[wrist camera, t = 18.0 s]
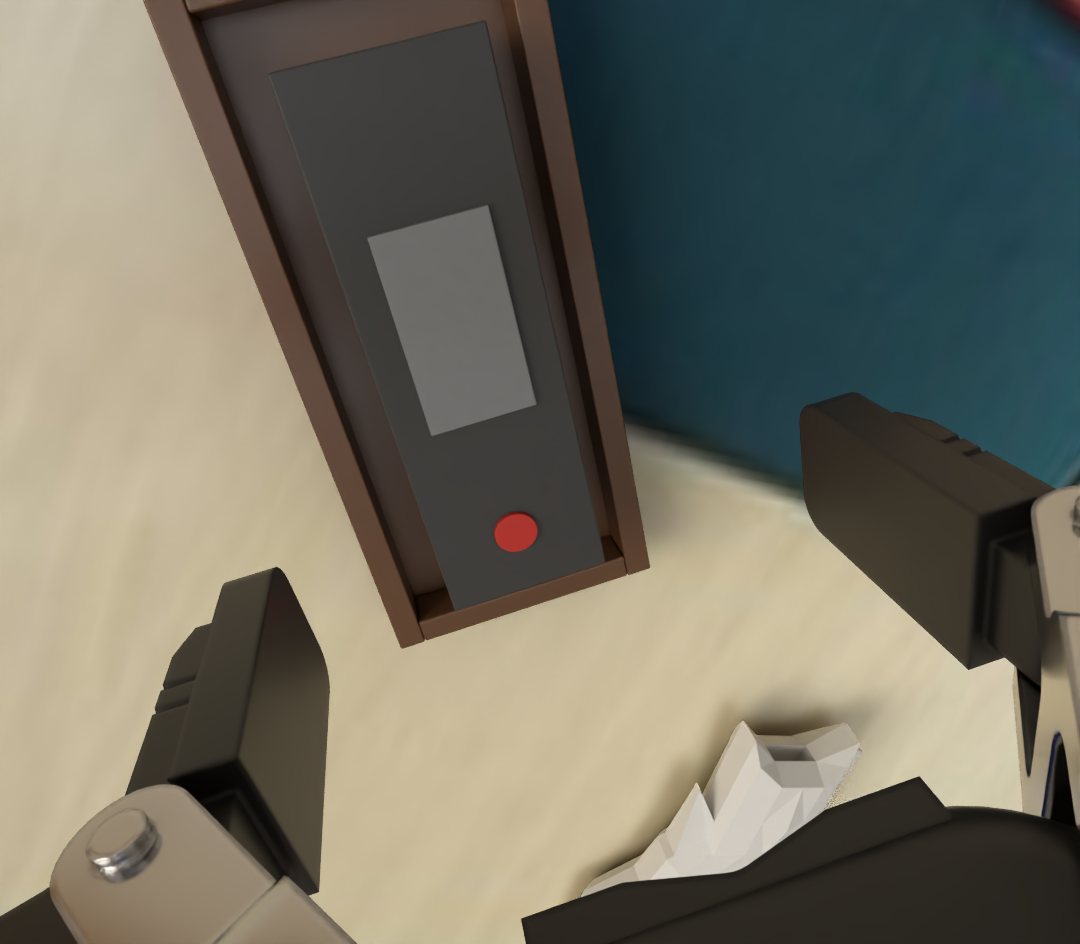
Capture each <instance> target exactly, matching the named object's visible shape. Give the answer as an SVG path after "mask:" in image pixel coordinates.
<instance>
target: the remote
mask: <svg viewBox="0 0 1080 944" xmlns="http://www.w3.org/2000/svg"><path fill="white" fill-rule="evenodd" d="M268 78H269V81H270V84H271V87H272V90H273V93H274V95H275V98H276V101H277V104H278V107H279V110H280V113H281V115H282V118H283V121H284V124H285V127H286V130H287V133H288V135H289V138H290V141H291V144H292V147H293V150H294V153H295V155H296V158H297V161H298V164H299V167H300V170H301V173H302V175H303V178H304V181H305V184H306V187H307V190H308V193H309V195H310V198H311V201H312V204H313V207H314V210H315V213H316V215H317V218H318V221H319V224H320V227H321V230H322V233H323V235H324V238H325V241H326V244H327V247H328V250H329V253H330V255H331V258H332V261H333V264H334V267H335V270H336V273H337V275H338V278H339V281H340V284H341V287H342V290H343V293H344V295H345V298H346V301H347V304H348V307H349V310H350V312H351V315H352V318H353V321H354V324H355V327H356V330H357V332H358V335H359V338H360V341H361V344H362V347H363V350H364V352H365V355H366V358H367V361H368V364H369V367H370V370H371V372H372V375H373V378H374V381H375V384H376V387H377V390H378V392H379V395H380V398H381V401H382V404H383V407H384V410H385V412H386V415H387V418H388V421H389V424H390V427H391V430H392V432H393V435H394V438H395V441H396V444H397V447H398V450H399V452H400V455H401V458H402V461H403V464H404V467H405V470H406V472H407V475H408V478H409V481H410V484H411V487H412V490H413V492H414V495H415V498H416V501H417V504H418V507H419V510H420V512H421V515H422V518H423V521H424V524H425V527H426V530H427V532H428V535H429V538H430V541H431V544H432V547H433V550H434V552H435V555H436V558H437V561H438V564H439V567H440V569H441V572H442V575H443V578H444V581H445V584H446V587H447V589H448V592H449V595H450V598H451V601H452V604H453V607H454V609H455V611H458V610H461V609H464V608H467V607H470V606H473V605H477V604H480V603H483V602H486V601H489V600H492V599H495V598H498V597H501V596H504V595H507V594H510V593H513V592H516V591H519V590H522V589H525V588H528V587H531V586H535V585H538V584H541V583H544V582H547V581H550V580H553V579H556V578H559V577H562V576H565V575H568V574H571V573H574V572H577V571H580V570H583V569H586V568H589V567H592V566H596V565H599V564H602V563H604V562H605V557H604V553H603V548H602V544H601V539H600V535H599V530H598V525H597V521H596V516H595V512H594V507H593V503H592V498H591V494H590V489H589V485H588V480H587V475H586V471H585V466H584V462H583V457H582V453H581V448H580V444H579V439H578V435H577V430H576V426H575V421H574V416H573V412H572V407H571V403H570V398H569V394H568V389H567V385H566V380H565V376H564V371H563V366H562V362H561V357H560V353H559V348H558V344H557V339H556V335H555V330H554V326H553V321H552V317H551V312H550V307H549V303H548V298H547V294H546V289H545V285H544V280H543V276H542V271H541V267H540V262H539V258H538V253H537V248H536V244H535V239H534V235H533V230H532V226H531V221H530V217H529V212H528V208H527V203H526V198H525V194H524V189H523V185H522V180H521V176H520V171H519V167H518V162H517V158H516V153H515V149H514V144H513V139H512V135H511V130H510V126H509V121H508V117H507V112H506V108H505V103H504V99H503V94H502V89H501V85H500V80H499V76H498V71H497V67H496V62H495V58H494V53H493V49H492V44H491V40H490V35H489V30H488V26H487V22H486V21H484V20H482V21H478V22H474V23H470V24H466V25H462V26H458V27H454V28H450V29H446V30H441V31H437V32H433V33H429V34H425V35H421V36H417V37H413V38H409V39H405V40H401V41H397V42H393V43H388V44H384V45H380V46H376V47H372V48H368V49H364V50H360V51H356V52H352V53H348V54H344V55H340V56H335V57H331V58H327V59H323V60H319V61H315V62H311V63H307V64H303V65H299V66H295V67H291V68H287V69H282V70H278V71H274V72H270V73H269V74H268Z"/></svg>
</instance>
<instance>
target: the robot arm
mask: <svg viewBox="0 0 1080 944" xmlns="http://www.w3.org/2000/svg"><path fill="white" fill-rule="evenodd" d="M799 422H800V440H801V456H802V472H803V487H804V498H805V503H806V506H807V509H808V512H809V515H810V517H811V519H812V521H813V523H814V524H815V526H816V527H817V529H818V530H819V531H820V532H821V533H822V534H823V535H824V536H825V537H826V538H827V539H828V540H829V541H830V542H831V543H832V544H833V545H834V546H835V547H837V548H838V549H839V550H840V551H841V552H842V553H843V554H844V555H845V556H846V557H847V558H848V559H850V560H851V561H852V562H853V563H854V564H855V565H856V566H857V567H858V568H859V569H860V570H861V571H862V572H864V573H865V574H866V575H867V576H868V577H869V578H870V579H871V580H872V581H873V582H874V583H875V584H876V585H878V586H879V587H880V588H881V589H882V590H883V591H884V592H885V593H886V594H887V595H888V596H889V597H890V598H892V599H893V600H894V601H895V602H896V603H897V604H898V605H899V606H900V607H901V608H902V609H903V610H905V611H906V612H907V613H908V614H909V615H910V616H911V617H912V618H913V619H914V620H915V621H916V622H917V623H919V624H920V625H921V626H922V627H923V628H924V629H925V630H926V631H927V632H928V633H929V634H930V635H931V636H933V637H934V638H935V639H936V640H937V641H938V642H939V643H940V644H941V645H942V646H943V647H944V648H945V649H947V650H948V651H949V652H950V653H951V654H952V655H953V656H954V657H955V658H956V659H957V660H958V661H960V662H961V663H962V664H963V665H964V666H965V667H966V668H967V669H968V670H969V669H972V668H975V667H978V666H981V665H984V664H987V663H990V662H993V661H995V660H998V659H1001V658H1004V657H1005V658H1006V659H1007V660H1009V661H1010V662H1011V663H1012V664H1013V665H1014V676H1013V698H1014V709H1015V721H1016V732H1017V744H1018V755H1019V767H1020V778H1021V790H1022V804H1023V812H1018V811H1013V810H1007V809H999V808H990V807H979V806H949V807H945V806H944V805H943V804H942V803H941V801H940V800H939V799H938V798H937V797H936V795H935V794H934V793H933V792H932V791H931V790H930V788H929V787H928V786H927V785H926V784H925V782H924V781H923V780H922V779H921V778H920V776H919V777H916V778H913V779H910V780H908V781H905V782H902V783H899V784H896V785H894V786H891V787H888V788H885V789H882V790H880V791H877V792H874V793H871V794H868V795H866V796H863V797H860V798H857V799H854V800H852V801H849V802H846V803H843V804H840V805H838V806H835V807H832V808H829V809H826V810H824V811H823V812H822V813H820V814H819V815H817V816H816V817H815V818H813V819H812V820H810V821H809V822H808V823H806V824H805V825H803V826H802V827H800V828H799V829H798V830H796V831H795V832H793V833H792V834H791V835H789V836H788V837H786V838H785V839H784V840H782V841H781V842H779V843H778V844H777V845H775V846H774V847H772V848H771V849H769V850H768V851H767V852H765V853H764V854H762V855H761V856H760V857H758V858H757V859H755V860H754V861H753V862H751V863H750V864H748V865H747V866H745V867H743V868H742V869H739V870H737V871H734V872H728V873H720V874H709V875H698V876H687V877H676V878H666V879H655V880H644V881H633V882H622V883H620V884H617V885H614V886H611V887H608V888H606V889H603V890H600V891H597V892H595V893H592V894H589V895H586V896H583V897H581V898H578V899H575V900H572V901H569V902H567V903H564V904H561V905H558V906H555V907H553V908H550V909H547V910H544V911H541V912H539V913H536V914H533V915H530V916H527V917H525V918H522V919H521V921H522V926H523V931H524V936H525V941H526V944H1080V485H1078V486H1070V487H1064V488H1060V489H1055V488H1053V487H1051V486H1050V485H1048V484H1046V483H1044V482H1042V481H1041V480H1039V479H1037V478H1035V477H1033V476H1032V475H1030V474H1028V473H1026V472H1024V471H1022V470H1021V469H1019V468H1017V467H1015V466H1013V465H1012V464H1010V463H1008V462H1006V461H1004V460H1002V459H1001V458H999V457H997V456H995V455H993V454H992V453H990V452H988V451H983V452H982V451H981V448H980V447H979V446H977V445H975V444H973V443H972V442H970V441H968V440H966V439H964V438H962V439H959V437H958V435H957V434H955V433H953V432H952V431H950V430H948V429H946V428H944V427H942V426H941V425H939V424H937V423H935V422H933V421H932V420H928V419H924V418H919V417H915V416H911V415H907V414H903V413H899V412H893V413H891V412H890V411H888V410H886V409H885V408H883V407H881V406H879V405H878V404H876V403H874V402H872V401H871V400H869V399H867V398H865V397H864V396H862V395H860V394H858V393H856V392H850V393H846V394H843V395H840V396H836V397H833V398H830V399H827V400H823V401H820V402H817V403H814V404H810V405H807V406H805V407H804V408H803V409H802V411H801V414H800V421H799ZM163 687H164V690H162V691H161V692H160V695H159V697H158V700H157V703H156V706H155V711H156V714H154V715H152V718H151V721H150V724H149V727H148V730H147V733H146V735H145V738H144V741H143V744H142V747H141V750H140V753H139V756H138V759H137V762H136V765H135V768H134V771H133V773H132V776H131V779H130V782H129V785H128V788H127V791H126V794H125V796H124V797H122V798H120V799H118V800H117V801H115V802H113V803H112V804H110V805H109V806H107V807H106V808H104V809H103V810H102V811H100V812H99V813H98V814H96V815H95V816H94V817H93V818H92V819H90V820H89V821H88V822H87V823H86V824H85V825H84V826H83V827H82V828H81V829H80V830H79V831H78V832H77V833H76V835H75V836H74V837H73V838H72V839H71V840H70V842H69V843H68V844H67V846H66V847H65V849H64V850H63V852H62V853H61V855H60V857H59V859H58V860H57V862H56V864H55V867H54V870H53V872H52V875H51V880H50V887H49V888H47V889H46V890H44V891H43V892H41V893H39V894H38V895H36V896H34V897H33V898H31V899H29V900H27V901H26V902H24V903H22V904H21V905H19V906H17V907H16V908H14V909H12V910H10V911H9V912H7V913H5V914H4V915H2V916H0V944H357V943H356V942H355V941H354V940H353V939H352V938H351V937H350V936H349V935H348V934H347V933H346V932H345V931H344V930H343V929H342V928H341V927H340V926H339V925H338V924H336V923H335V922H334V921H333V920H332V919H331V918H330V917H329V916H328V915H327V914H326V913H325V912H324V911H323V910H322V909H321V908H320V907H319V906H318V905H317V904H316V903H315V902H314V901H313V900H312V899H311V898H310V897H309V895H312V894H315V893H317V892H319V882H320V863H321V844H322V825H323V807H324V788H325V769H326V750H327V732H328V713H329V694H330V685H329V676H328V671H327V666H326V663H325V659H324V656H323V653H322V651H321V648H320V646H319V644H318V642H317V639H316V637H315V635H314V633H313V631H312V629H311V627H310V625H309V623H308V621H307V619H306V616H305V614H304V612H303V610H302V608H301V606H300V604H299V602H298V600H297V598H296V595H295V593H294V591H293V589H292V587H291V585H290V583H289V581H288V579H287V577H286V575H285V574H284V573H283V571H282V570H281V569H280V568H278V567H275V568H272V569H268V570H265V571H262V572H259V573H255V574H252V575H249V576H245V577H242V578H239V579H236V580H232V581H229V582H226V583H224V585H223V586H222V589H221V592H220V595H219V599H218V602H217V606H216V609H215V613H214V616H213V620H212V623H210V624H207V625H204V626H200V627H197V628H195V629H194V631H193V632H192V633H191V634H190V636H189V637H188V638H187V639H186V641H185V642H184V643H183V644H182V646H181V647H180V648H179V649H178V651H177V652H176V653H175V654H174V655H173V657H172V660H171V662H170V665H169V668H168V671H167V674H166V677H165V680H164V683H163Z"/></svg>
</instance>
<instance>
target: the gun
mask: <svg viewBox="0 0 1080 944" xmlns="http://www.w3.org/2000/svg"><path fill="white" fill-rule="evenodd" d="M860 744H861V742H860V741H859V740H858V738H857V737H856V736H855V734H854V733H853V732H852V730H851V729H850V728H849V726H848V725H847V724H846V723H842V724H837V725H833V726H828V727H824V728H819V729H815V730H811V731H807V732H803V733H799V734H795V735H792V736H770V735H756V734H755V733H754V732H753V731H752V730H751V728H750V727H749V726H748V725H747V724H746V723H745V722H744V720H743V721H742V722H740V723H739V724H738V725H737V726H736V727H735V729H734V731H733V733H732V735H731V737H730V739H729V741H728V743H727V745H726V747H725V749H724V751H723V753H722V755H721V757H720V759H719V761H718V763H717V765H716V767H715V769H714V771H713V773H712V775H711V777H710V779H709V781H708V783H707V785H706V787H705V789H704V791H703V793H702V792H701V790H700V788H699V786H698V784H697V783H696V784H695V786H694V788H693V789H692V791H691V792H690V794H689V795H688V797H687V799H686V800H685V802H684V803H683V805H682V806H681V808H680V810H679V811H678V813H677V814H676V816H675V817H674V819H673V821H672V822H671V824H670V825H669V827H668V828H666V829H664V830H662V831H661V832H660V833H659V835H658V836H657V837H656V838H655V839H654V841H653V842H652V843H651V844H650V846H649V847H648V848H647V849H646V850H645V852H644V853H643V854H642V855H640V856H638V857H636V858H634V859H632V860H630V861H628V862H626V863H624V864H622V865H621V866H619V867H617V868H615V869H613V870H611V871H609V872H607V873H605V874H603V875H601V876H599V877H597V878H595V879H593V880H592V881H591V882H590V884H589V885H588V886H587V887H586V888H585V890H584V891H583V893H582V895H581V897H583V896H586V895H589V894H592V893H595V892H597V891H600V890H603V889H606V888H608V887H611V886H614V885H617V884H620V883H622V882H633V881H644V880H655V879H666V878H676V877H687V876H698V875H709V874H720V873H728V872H734V871H737V870H739V869H742V868H743V867H745V866H747V865H748V864H750V863H751V862H753V861H754V860H755V859H757V858H758V857H760V856H761V855H762V854H764V853H765V852H767V851H768V850H769V849H771V848H772V847H774V846H775V845H777V844H778V843H779V842H781V841H782V840H784V839H785V838H786V837H788V836H789V835H791V834H792V833H793V832H795V831H796V830H798V829H799V828H800V827H802V826H803V825H805V824H806V823H808V822H809V821H810V820H812V819H813V818H815V817H816V816H817V815H819V814H820V813H822V811H823V810H824V808H825V806H826V805H827V803H828V801H829V800H830V798H831V796H832V795H833V793H834V791H835V790H836V788H837V786H838V785H839V783H840V781H841V780H842V778H843V777H844V776H845V775H846V774H848V773H849V772H850V771H851V769H852V767H853V766H854V764H855V762H856V761H857V759H858V757H859V756H860V754H861V752H862V751H861V749H860V748H859V746H860Z"/></svg>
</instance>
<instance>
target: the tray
mask: <svg viewBox="0 0 1080 944" xmlns="http://www.w3.org/2000/svg"><path fill="white" fill-rule="evenodd" d="M143 1H144V4H145V7H146V9H147V12H148V14H149V17H150V19H151V22H152V24H153V27H154V29H155V32H156V34H157V37H158V39H159V42H160V44H161V47H162V49H163V52H164V54H165V57H166V59H167V62H168V64H169V67H170V69H171V72H172V74H173V77H174V79H175V82H176V84H177V87H178V89H179V92H180V94H181V97H182V99H183V102H184V104H185V107H186V109H187V112H188V114H189V117H190V119H191V122H192V124H193V127H194V129H195V132H196V135H197V137H198V140H199V142H200V145H201V147H202V150H203V152H204V155H205V157H206V160H207V162H208V165H209V167H210V170H211V172H212V175H213V177H214V180H215V182H216V185H217V187H218V190H219V192H220V195H221V197H222V200H223V202H224V205H225V207H226V210H227V212H228V215H229V217H230V220H231V222H232V225H233V227H234V230H235V232H236V235H237V237H238V240H239V242H240V245H241V247H242V250H243V252H244V255H245V258H246V260H247V263H248V265H249V268H250V270H251V273H252V275H253V278H254V280H255V283H256V285H257V288H258V290H259V293H260V295H261V298H262V300H263V303H264V305H265V308H266V310H267V313H268V315H269V318H270V320H271V323H272V325H273V328H274V330H275V333H276V335H277V338H278V340H279V343H280V345H281V348H282V350H283V353H284V355H285V358H286V360H287V363H288V365H289V368H290V370H291V373H292V375H293V378H294V381H295V383H296V386H297V388H298V391H299V393H300V396H301V398H302V401H303V403H304V406H305V408H306V411H307V413H308V416H309V418H310V421H311V423H312V426H313V428H314V431H315V433H316V436H317V438H318V441H319V443H320V446H321V448H322V451H323V453H324V456H325V458H326V461H327V463H328V466H329V468H330V471H331V473H332V476H333V478H334V481H335V483H336V486H337V488H338V491H339V493H340V496H341V498H342V501H343V503H344V506H345V509H346V511H347V514H348V516H349V519H350V521H351V524H352V526H353V529H354V531H355V534H356V536H357V539H358V541H359V544H360V546H361V549H362V551H363V554H364V556H365V559H366V561H367V564H368V566H369V569H370V571H371V574H372V576H373V579H374V581H375V584H376V586H377V589H378V591H379V594H380V596H381V599H382V601H383V604H384V606H385V609H386V611H387V614H388V616H389V619H390V621H391V624H392V626H393V629H394V632H395V634H396V637H397V639H398V642H399V644H400V647H401V648H406V647H409V646H412V645H415V644H418V643H421V642H424V641H425V639H426V640H429V639H432V638H435V637H439V636H442V635H445V634H448V633H451V632H454V631H457V630H460V629H463V628H466V627H469V626H472V625H475V624H478V623H481V622H485V621H488V620H491V619H494V618H497V617H500V616H503V615H506V614H509V613H512V612H515V611H518V610H521V609H524V608H528V607H531V606H534V605H537V604H540V603H543V602H546V601H549V600H552V599H555V598H558V597H561V596H564V595H567V594H570V593H574V592H577V591H580V590H583V589H586V588H589V587H592V586H595V585H598V584H601V583H604V582H607V581H610V580H613V579H616V578H620V577H623V576H626V575H627V574H628V575H630V574H633V573H636V572H639V571H642V570H645V569H648V568H650V564H649V559H648V553H647V547H646V542H645V536H644V531H643V525H642V520H641V514H640V509H639V503H638V498H637V492H636V486H635V481H634V475H633V470H632V464H631V459H630V453H629V448H628V442H627V436H626V431H625V425H624V420H623V414H622V409H621V403H620V398H619V392H618V387H617V381H616V375H615V370H614V364H613V359H612V353H611V348H610V342H609V337H608V331H607V326H606V320H605V314H604V309H603V303H602V298H601V292H600V287H599V281H598V276H597V270H596V265H595V259H594V253H593V248H592V242H591V237H590V231H589V226H588V220H587V215H586V209H585V203H584V198H583V192H582V187H581V181H580V176H579V170H578V165H577V159H576V154H575V148H574V142H573V137H572V131H571V126H570V120H569V115H568V109H567V104H566V98H565V93H564V87H563V81H562V76H561V70H560V65H559V59H558V54H557V48H556V43H555V37H554V32H553V26H552V20H551V15H550V9H549V4H548V0H143ZM482 20H484V21H486V22H487V26H488V30H489V35H490V40H491V44H492V49H493V53H494V58H495V62H496V67H497V71H498V76H499V80H500V85H501V89H502V94H503V99H504V103H505V108H506V112H507V117H508V121H509V126H510V130H511V135H512V139H513V144H514V149H515V153H516V158H517V162H518V167H519V171H520V176H521V180H522V185H523V189H524V194H525V198H526V203H527V208H528V212H529V217H530V221H531V226H532V230H533V235H534V239H535V244H536V248H537V253H538V258H539V262H540V267H541V271H542V276H543V280H544V285H545V289H546V294H547V298H548V303H549V307H550V312H551V317H552V321H553V326H554V330H555V335H556V339H557V344H558V348H559V353H560V357H561V362H562V366H563V371H564V376H565V380H566V385H567V389H568V394H569V398H570V403H571V407H572V412H573V416H574V421H575V426H576V430H577V435H578V439H579V444H580V448H581V453H582V457H583V462H584V466H585V471H586V475H587V480H588V485H589V489H590V494H591V498H592V503H593V507H594V512H595V516H596V521H597V525H598V530H599V535H600V539H601V544H602V548H603V553H604V557H605V562H604V563H602V564H599V565H596V566H592V567H589V568H586V569H583V570H580V571H577V572H574V573H571V574H568V575H565V576H562V577H559V578H556V579H553V580H550V581H547V582H544V583H541V584H538V585H535V586H531V587H528V588H525V589H522V590H519V591H516V592H513V593H510V594H507V595H504V596H501V597H498V598H495V599H492V600H489V601H486V602H483V603H480V604H477V605H473V606H470V607H467V608H464V609H461V610H458V611H455V609H454V607H453V604H452V601H451V598H450V595H449V592H448V589H447V587H446V584H445V581H444V578H443V575H442V572H441V569H440V567H439V564H438V561H437V558H436V555H435V552H434V550H433V547H432V544H431V541H430V538H429V535H428V532H427V530H426V527H425V524H424V521H423V518H422V515H421V512H420V510H419V507H418V504H417V501H416V498H415V495H414V492H413V490H412V487H411V484H410V481H409V478H408V475H407V472H406V470H405V467H404V464H403V461H402V458H401V455H400V452H399V450H398V447H397V444H396V441H395V438H394V435H393V432H392V430H391V427H390V424H389V421H388V418H387V415H386V412H385V410H384V407H383V404H382V401H381V398H380V395H379V392H378V390H377V387H376V384H375V381H374V378H373V375H372V372H371V370H370V367H369V364H368V361H367V358H366V355H365V352H364V350H363V347H362V344H361V341H360V338H359V335H358V332H357V330H356V327H355V324H354V321H353V318H352V315H351V312H350V310H349V307H348V304H347V301H346V298H345V295H344V293H343V290H342V287H341V284H340V281H339V278H338V275H337V273H336V270H335V267H334V264H333V261H332V258H331V255H330V253H329V250H328V247H327V244H326V241H325V238H324V235H323V233H322V230H321V227H320V224H319V221H318V218H317V215H316V213H315V210H314V207H313V204H312V201H311V198H310V195H309V193H308V190H307V187H306V184H305V181H304V178H303V175H302V173H301V170H300V167H299V164H298V161H297V158H296V155H295V153H294V150H293V147H292V144H291V141H290V138H289V135H288V133H287V130H286V127H285V124H284V121H283V118H282V115H281V113H280V110H279V107H278V104H277V101H276V98H275V95H274V93H273V90H272V87H271V84H270V81H269V78H268V74H269V73H270V72H274V71H278V70H282V69H287V68H291V67H295V66H299V65H303V64H307V63H311V62H315V61H319V60H323V59H327V58H331V57H335V56H340V55H344V54H348V53H352V52H356V51H360V50H364V49H368V48H372V47H376V46H380V45H384V44H388V43H393V42H397V41H401V40H405V39H409V38H413V37H417V36H421V35H425V34H429V33H433V32H437V31H441V30H446V29H450V28H454V27H458V26H462V25H466V24H470V23H474V22H478V21H482Z"/></svg>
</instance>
